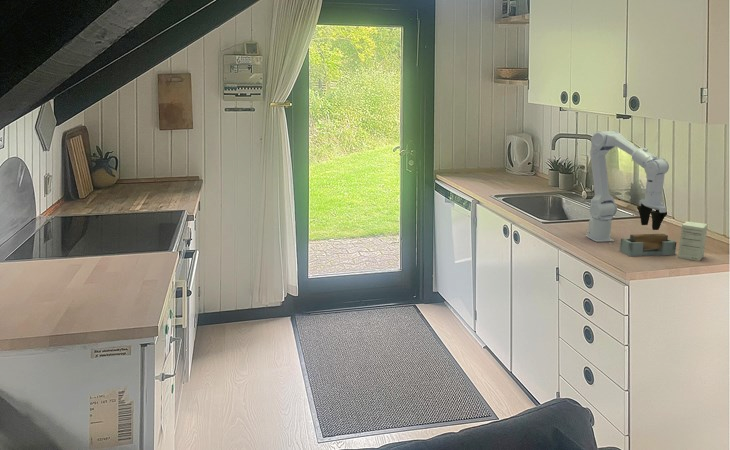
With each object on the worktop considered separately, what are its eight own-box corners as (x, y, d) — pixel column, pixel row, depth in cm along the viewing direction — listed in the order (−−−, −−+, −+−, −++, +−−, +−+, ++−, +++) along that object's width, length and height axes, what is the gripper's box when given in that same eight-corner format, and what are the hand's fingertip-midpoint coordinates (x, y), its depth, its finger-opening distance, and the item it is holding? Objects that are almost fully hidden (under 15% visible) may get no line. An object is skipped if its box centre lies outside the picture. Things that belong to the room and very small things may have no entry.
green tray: (619, 251, 234) (621, 238, 233) (664, 249, 236) (665, 237, 235) (629, 256, 227) (630, 243, 226) (674, 254, 229) (676, 242, 228)
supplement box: (682, 253, 231) (686, 220, 228) (704, 256, 227) (708, 223, 224) (677, 257, 226) (681, 224, 223) (699, 261, 221) (704, 227, 218)
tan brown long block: (629, 247, 232) (630, 234, 231) (661, 246, 233) (663, 233, 232) (633, 249, 229) (634, 236, 228) (666, 248, 230) (667, 235, 229)
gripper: (675, 195, 220) (671, 231, 223) (653, 188, 234) (649, 222, 237) (657, 195, 219) (652, 232, 223) (635, 188, 234) (632, 223, 237)
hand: (649, 227), depth 230 cm, fingers open, 7 cm apart
